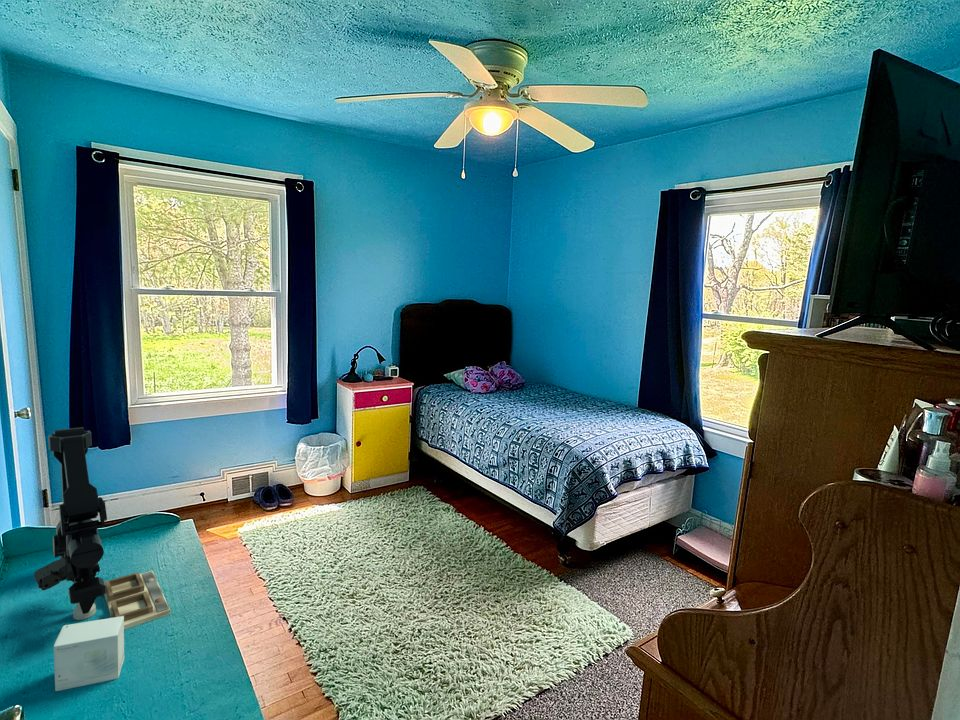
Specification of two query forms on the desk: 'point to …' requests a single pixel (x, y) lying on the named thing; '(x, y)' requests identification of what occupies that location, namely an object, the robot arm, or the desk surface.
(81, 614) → the rook chess piece
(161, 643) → the desk surface
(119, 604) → the board
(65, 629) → the skincare box
